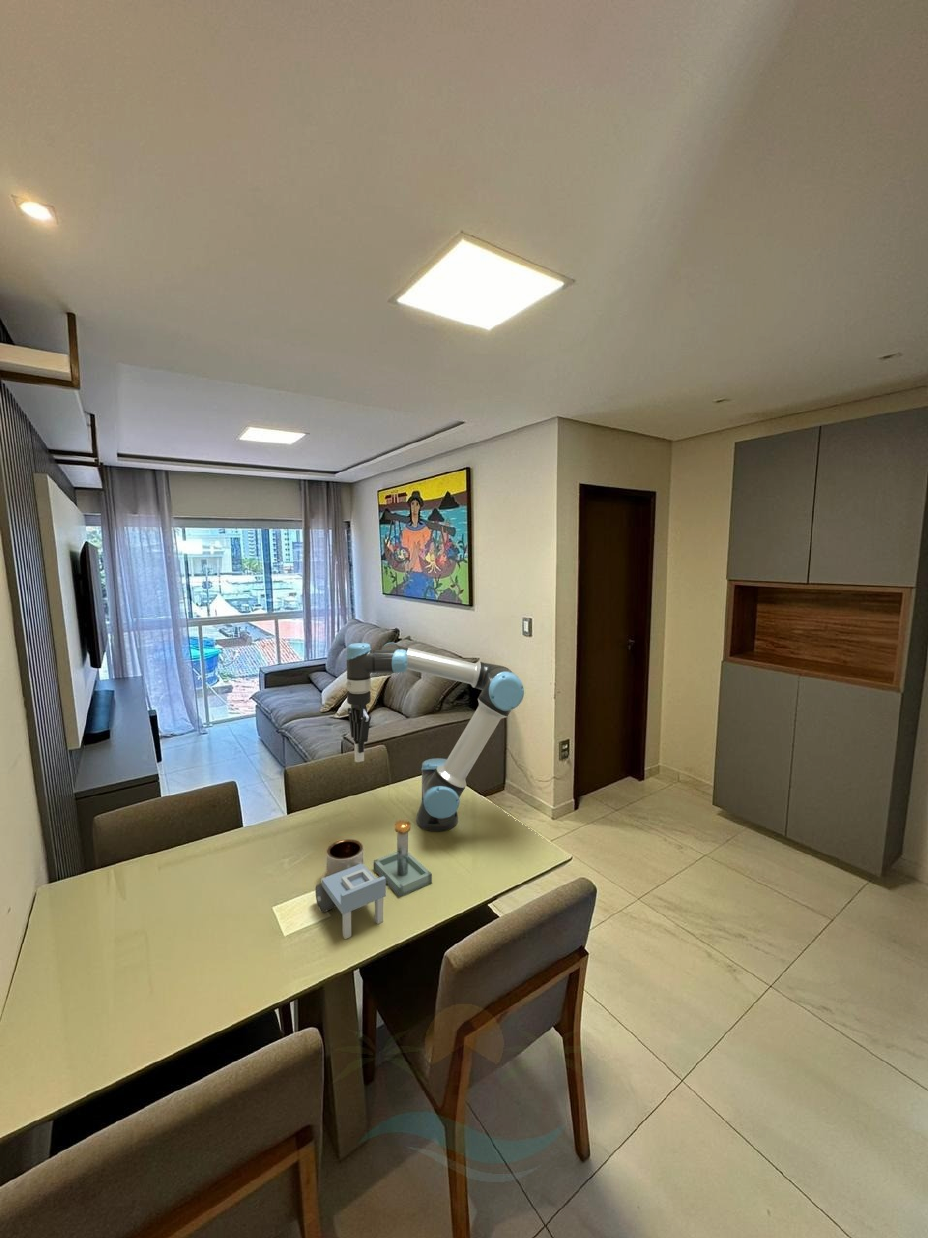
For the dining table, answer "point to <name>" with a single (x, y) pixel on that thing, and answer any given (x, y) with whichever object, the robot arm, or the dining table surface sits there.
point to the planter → (343, 856)
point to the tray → (402, 884)
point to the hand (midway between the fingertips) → (359, 760)
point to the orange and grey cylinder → (402, 846)
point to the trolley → (351, 893)
